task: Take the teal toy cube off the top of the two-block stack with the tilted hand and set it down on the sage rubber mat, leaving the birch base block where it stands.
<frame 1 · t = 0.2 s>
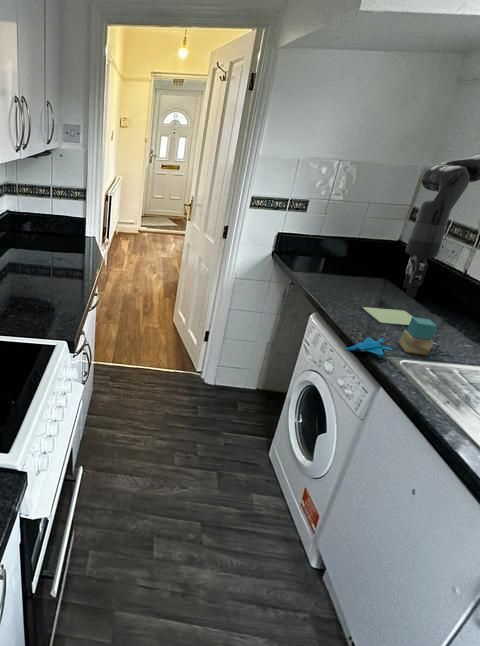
hand: (408, 291, 124), 20 cm above the counter, tool pointing down, fingers open, 8 cm apart
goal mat: (392, 317, 156), on the counter
base block: (412, 349, 133), on the counter, touching top cube
toy airplane: (366, 352, 129), on the counter
top cube: (418, 335, 131), point 5 cm above the counter, touching base block
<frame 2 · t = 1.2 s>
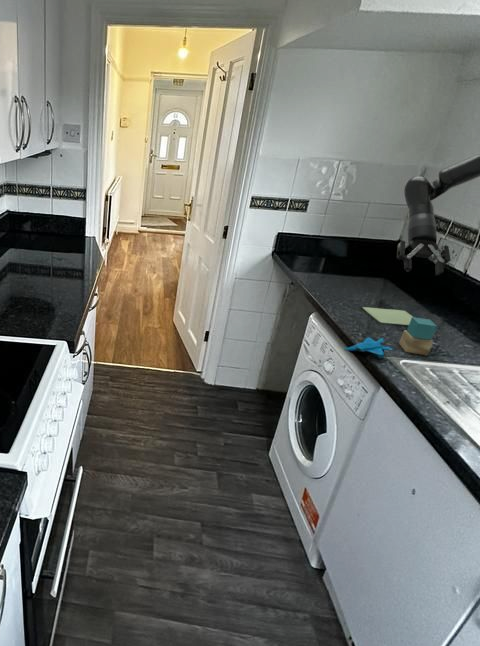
hand: (423, 272, 134), 23 cm above the counter, tool tilted 45°, fingers open, 8 cm apart
nothing on the counter moved.
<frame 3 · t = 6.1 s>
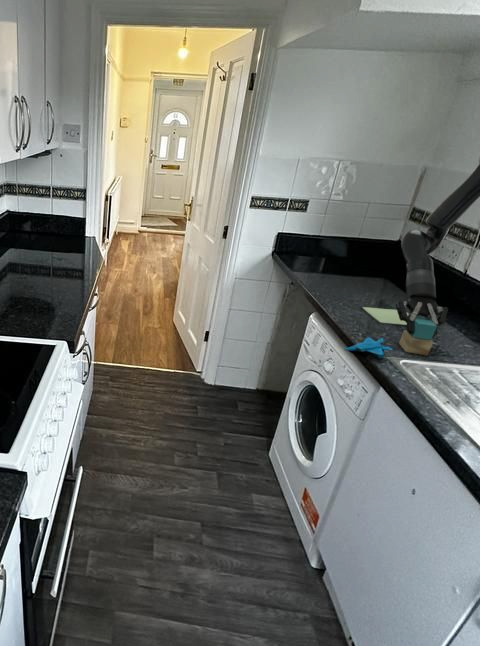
hand: (422, 334, 129), 6 cm above the counter, tool tilted 45°, fingers closed on top cube, 5 cm apart
top cube: (418, 335, 131), point 5 cm above the counter, touching base block, gripper
everything else where it was.
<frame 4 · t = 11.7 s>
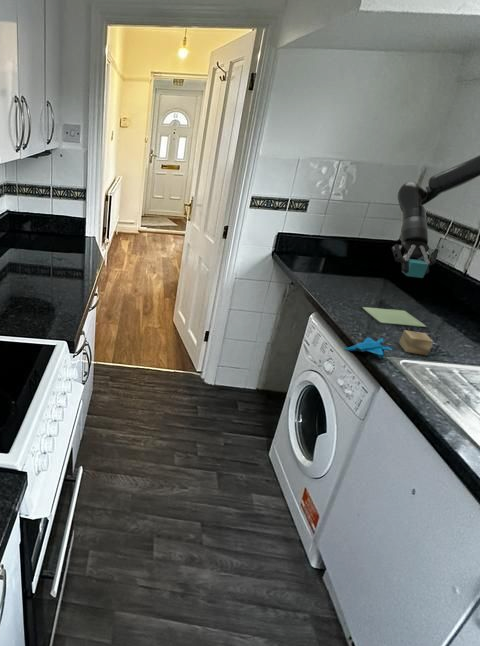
hand: (415, 273, 144), 19 cm above the counter, tool tilted 45°, fingers closed on top cube, 5 cm apart
base block: (412, 349, 133), on the counter
top cube: (412, 274, 146), point 18 cm above the counter, touching gripper
everything else where it was.
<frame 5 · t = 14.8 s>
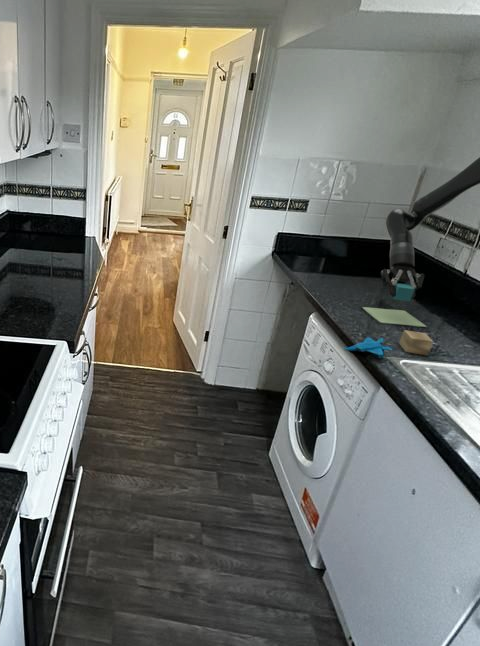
hand: (402, 297, 151), 9 cm above the counter, tool tilted 45°, fingers closed on top cube, 5 cm apart
top cube: (399, 298, 153), point 8 cm above the counter, touching gripper
everything else where it was.
when the fingers open (2 cm above the counter, at t = 17.4 s): top cube stays where it is, resting on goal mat.
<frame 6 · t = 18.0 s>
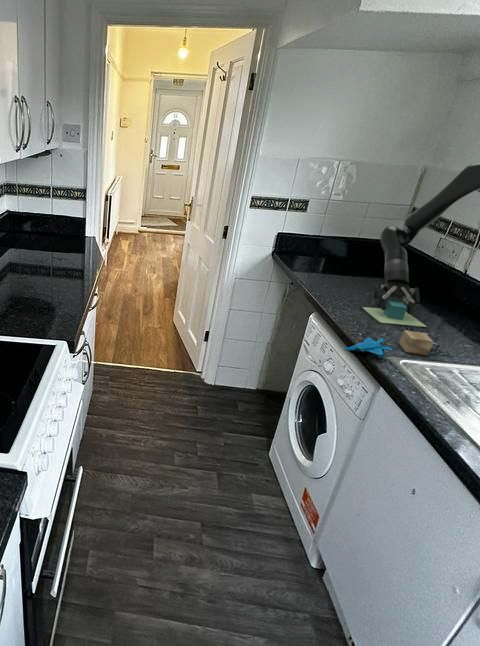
hand: (396, 311, 154), 3 cm above the counter, tool tilted 45°, fingers open, 8 cm apart
top cube: (392, 316, 156), resting on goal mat
everything else where it was.
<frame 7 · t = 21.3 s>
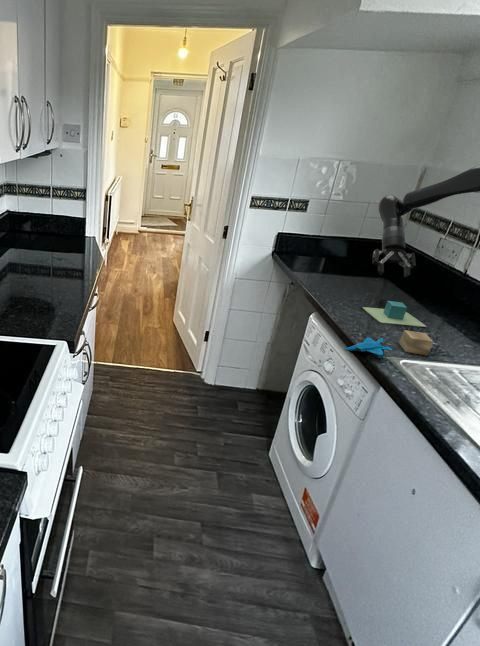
hand: (394, 275, 161), 13 cm above the counter, tool tilted 45°, fingers open, 8 cm apart
nothing on the counter moved.
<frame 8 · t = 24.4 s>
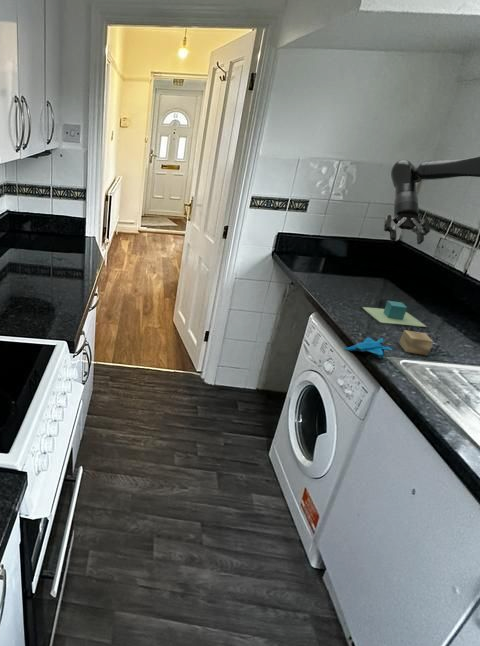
hand: (406, 241, 155), 27 cm above the counter, tool tilted 45°, fingers open, 8 cm apart
nothing on the counter moved.
at the end: top cube inside the target area on the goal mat (0.1 cm from its centre), point 0.4 cm above the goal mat's base; top cube tilted 0°; base block moved 0.0 cm from its start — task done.
